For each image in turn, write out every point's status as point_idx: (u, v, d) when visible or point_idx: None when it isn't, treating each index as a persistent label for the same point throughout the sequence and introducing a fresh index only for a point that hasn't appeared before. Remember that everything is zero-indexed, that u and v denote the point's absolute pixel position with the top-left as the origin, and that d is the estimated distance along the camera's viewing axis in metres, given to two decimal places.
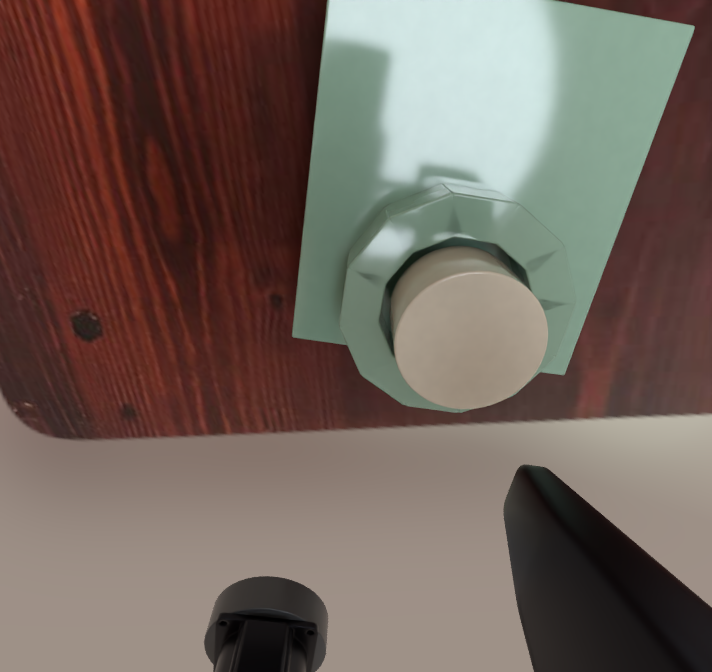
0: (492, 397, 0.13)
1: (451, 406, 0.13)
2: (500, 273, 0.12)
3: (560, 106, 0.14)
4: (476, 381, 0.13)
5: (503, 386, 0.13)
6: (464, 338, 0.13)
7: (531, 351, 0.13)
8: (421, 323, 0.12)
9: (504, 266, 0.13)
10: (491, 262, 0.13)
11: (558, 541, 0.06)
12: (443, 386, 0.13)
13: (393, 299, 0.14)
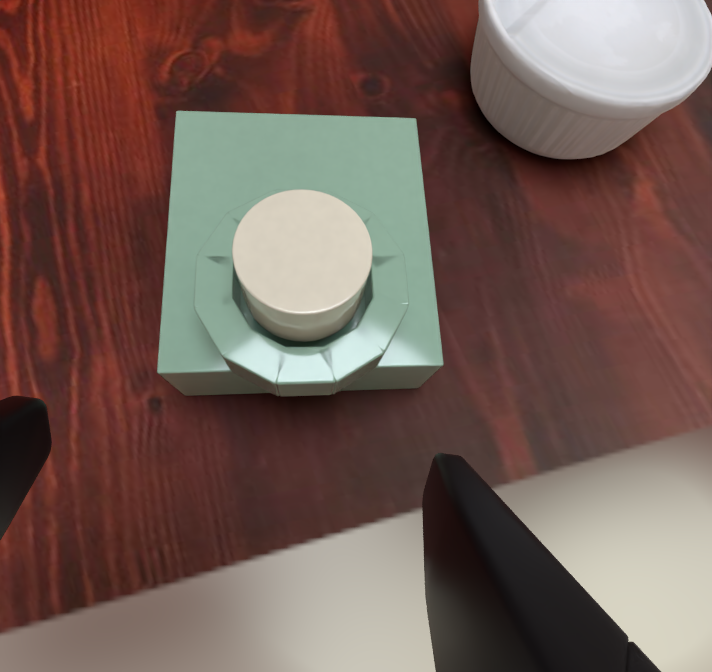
0: (339, 294, 0.14)
1: (301, 311, 0.13)
2: (310, 190, 0.15)
3: (349, 164, 0.20)
4: (318, 281, 0.14)
5: (346, 283, 0.14)
6: (295, 243, 0.14)
7: (359, 246, 0.14)
8: (253, 236, 0.14)
9: None
10: None
11: (454, 528, 0.06)
12: (288, 292, 0.13)
13: None
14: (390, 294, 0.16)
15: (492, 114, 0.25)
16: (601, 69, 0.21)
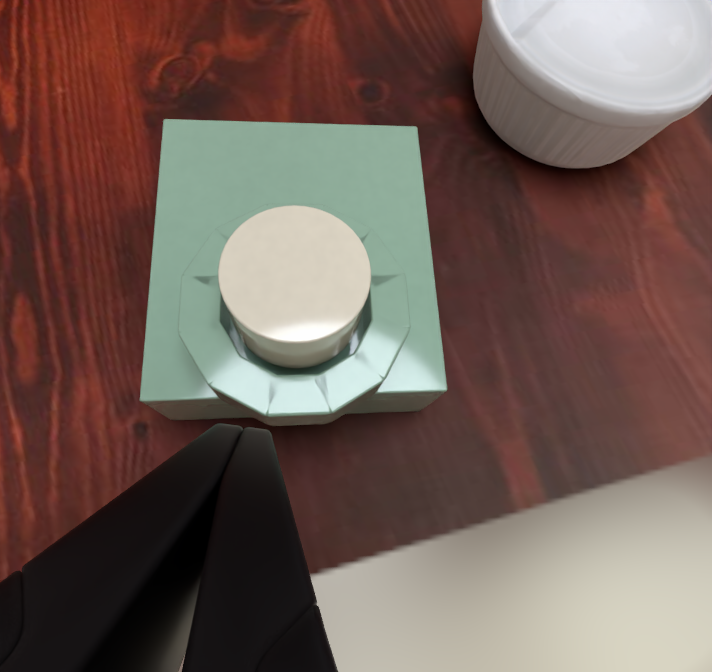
0: (334, 321, 0.12)
1: (293, 340, 0.12)
2: (304, 206, 0.13)
3: (346, 175, 0.19)
4: (312, 306, 0.12)
5: (342, 308, 0.13)
6: (287, 264, 0.13)
7: (356, 267, 0.13)
8: (241, 256, 0.13)
9: None
10: None
11: None
12: (279, 318, 0.12)
13: None
14: (390, 317, 0.15)
15: (496, 121, 0.24)
16: (611, 75, 0.20)
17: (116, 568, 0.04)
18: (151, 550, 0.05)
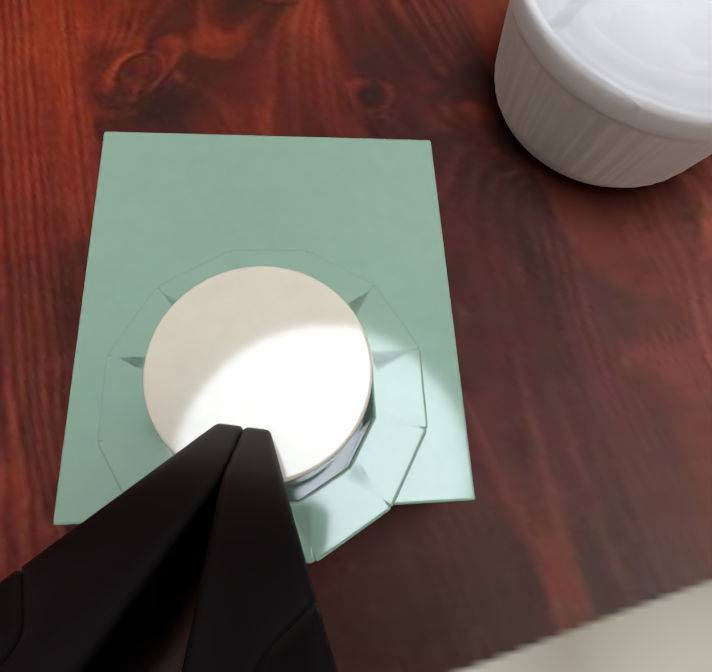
0: (317, 448, 0.08)
1: None
2: (275, 267, 0.09)
3: (341, 204, 0.15)
4: (284, 425, 0.08)
5: (329, 426, 0.08)
6: (248, 359, 0.09)
7: (351, 361, 0.09)
8: (179, 347, 0.09)
9: None
10: None
11: None
12: None
13: None
14: (399, 412, 0.11)
15: (524, 131, 0.20)
16: (676, 76, 0.16)
17: (116, 568, 0.04)
18: (151, 550, 0.05)
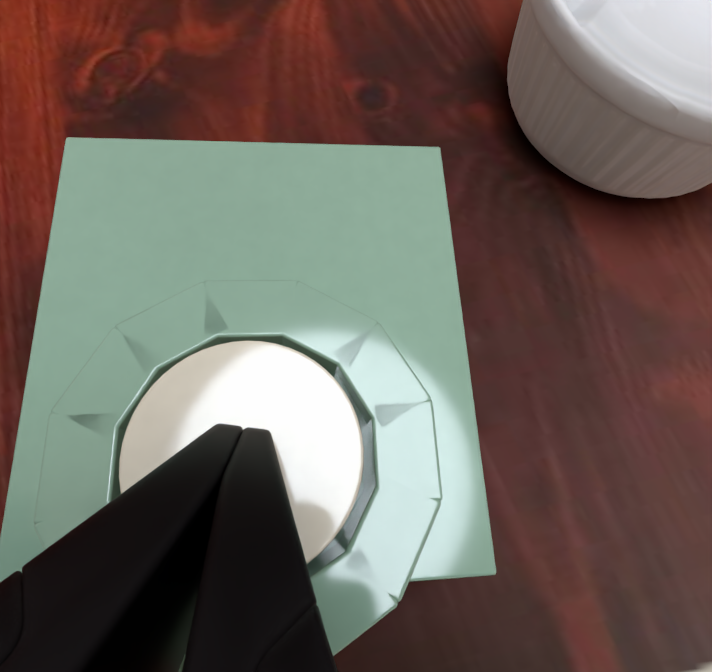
0: (304, 544, 0.08)
1: None
2: (261, 341, 0.09)
3: (338, 221, 0.13)
4: None
5: (317, 519, 0.08)
6: None
7: (340, 445, 0.08)
8: (158, 432, 0.08)
9: None
10: None
11: None
12: None
13: None
14: (407, 480, 0.09)
15: (541, 136, 0.18)
16: None
17: (116, 568, 0.04)
18: (151, 550, 0.05)
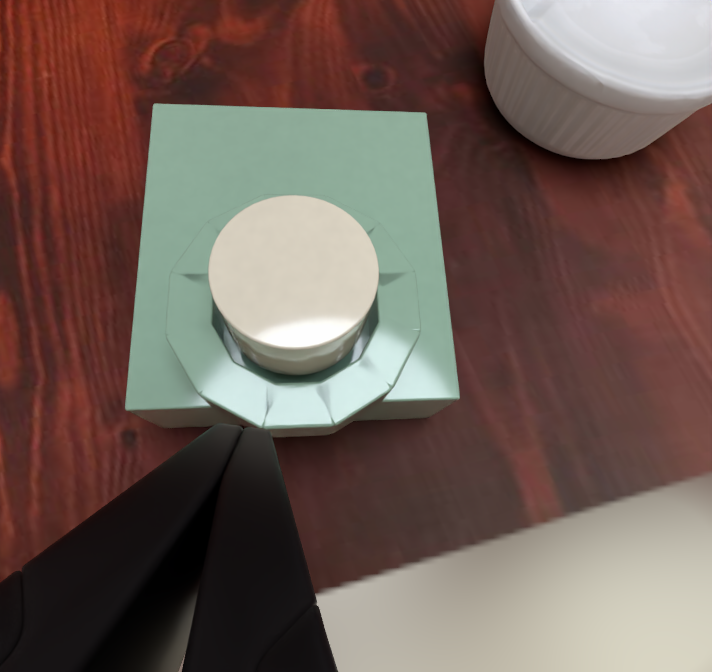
0: (338, 324, 0.11)
1: (292, 345, 0.11)
2: (304, 197, 0.12)
3: (350, 165, 0.17)
4: (313, 308, 0.11)
5: (347, 310, 0.11)
6: (286, 261, 0.11)
7: (362, 264, 0.12)
8: (234, 252, 0.11)
9: None
10: None
11: None
12: (276, 321, 0.11)
13: None
14: (399, 318, 0.14)
15: (509, 109, 0.23)
16: (635, 58, 0.19)
17: (116, 568, 0.04)
18: (151, 550, 0.05)
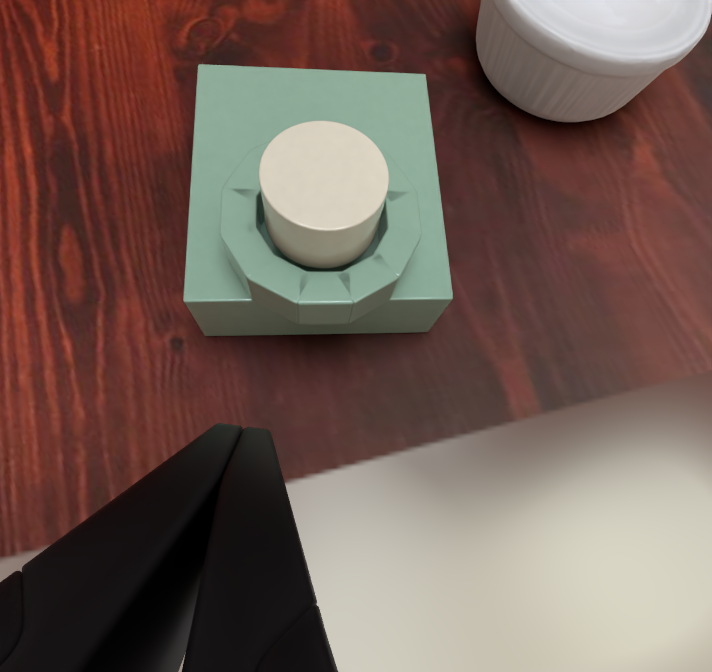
0: (358, 213, 0.14)
1: (324, 228, 0.14)
2: (330, 122, 0.16)
3: (362, 115, 0.21)
4: (339, 202, 0.15)
5: (365, 204, 0.15)
6: (317, 168, 0.15)
7: (376, 171, 0.15)
8: (278, 160, 0.15)
9: None
10: None
11: None
12: (312, 210, 0.14)
13: None
14: (403, 226, 0.17)
15: (497, 77, 0.26)
16: (601, 28, 0.22)
17: (116, 568, 0.04)
18: (151, 550, 0.05)
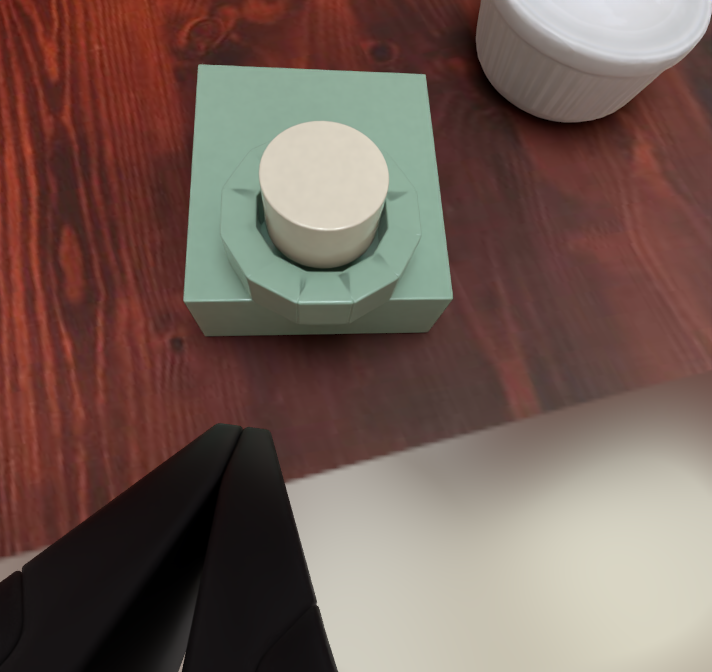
0: (358, 213, 0.14)
1: (324, 228, 0.14)
2: (330, 122, 0.16)
3: (362, 115, 0.21)
4: (339, 202, 0.15)
5: (365, 204, 0.15)
6: (317, 168, 0.15)
7: (376, 172, 0.15)
8: (278, 161, 0.15)
9: None
10: None
11: None
12: (312, 210, 0.14)
13: None
14: (403, 226, 0.17)
15: (497, 78, 0.26)
16: (602, 29, 0.22)
17: (116, 568, 0.04)
18: (151, 550, 0.05)
